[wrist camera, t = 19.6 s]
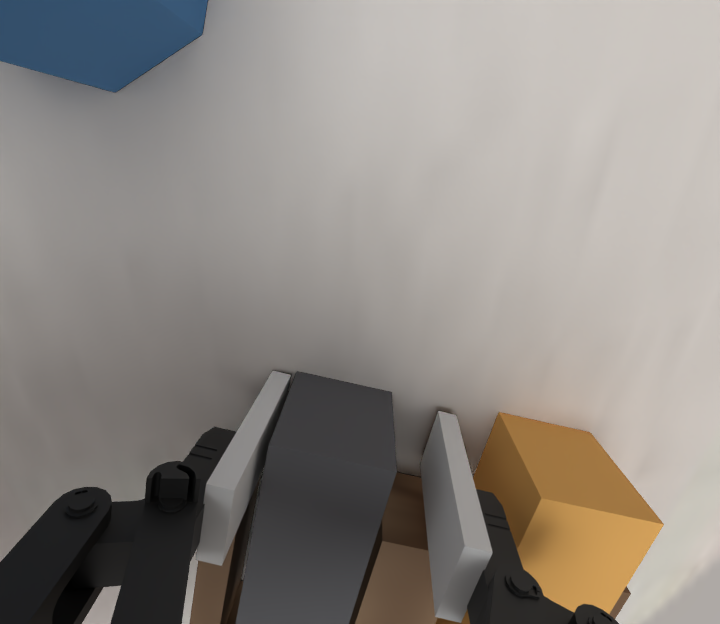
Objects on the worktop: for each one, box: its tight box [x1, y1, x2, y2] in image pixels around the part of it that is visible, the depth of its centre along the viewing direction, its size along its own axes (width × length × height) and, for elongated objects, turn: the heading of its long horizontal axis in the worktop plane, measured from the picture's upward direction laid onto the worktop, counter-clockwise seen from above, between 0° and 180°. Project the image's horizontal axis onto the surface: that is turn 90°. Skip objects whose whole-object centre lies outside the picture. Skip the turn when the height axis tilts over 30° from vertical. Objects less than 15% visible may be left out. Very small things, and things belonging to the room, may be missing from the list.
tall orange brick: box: [435, 412, 664, 624], centre depth 17 cm, size 4×11×5 cm, turn 167°
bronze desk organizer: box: [190, 472, 631, 624], centre depth 19 cm, size 16×10×4 cm, turn 77°
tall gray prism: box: [236, 371, 397, 624], centre depth 17 cm, size 4×11×5 cm, turn 167°
